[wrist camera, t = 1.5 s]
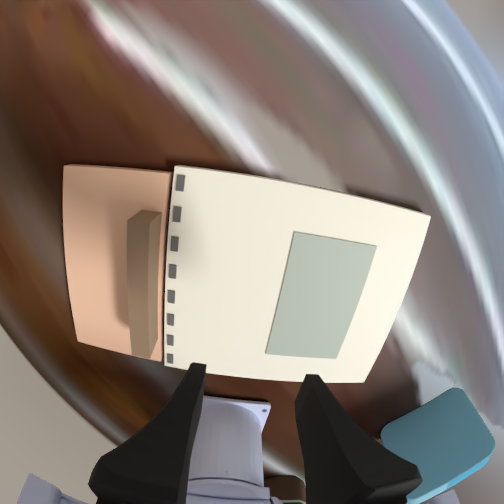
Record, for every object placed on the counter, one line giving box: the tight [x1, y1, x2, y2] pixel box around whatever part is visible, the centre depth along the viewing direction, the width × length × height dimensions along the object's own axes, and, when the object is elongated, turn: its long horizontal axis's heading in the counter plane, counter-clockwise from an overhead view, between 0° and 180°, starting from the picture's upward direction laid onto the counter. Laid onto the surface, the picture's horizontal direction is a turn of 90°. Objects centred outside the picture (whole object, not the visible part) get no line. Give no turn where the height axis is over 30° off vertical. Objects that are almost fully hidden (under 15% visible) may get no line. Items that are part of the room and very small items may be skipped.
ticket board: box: [164, 165, 431, 383], centre depth 21 cm, size 16×18×1 cm
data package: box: [381, 388, 495, 504], centre depth 23 cm, size 12×4×12 cm, turn 118°
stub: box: [63, 164, 173, 361], centre depth 19 cm, size 15×8×4 cm, turn 171°
